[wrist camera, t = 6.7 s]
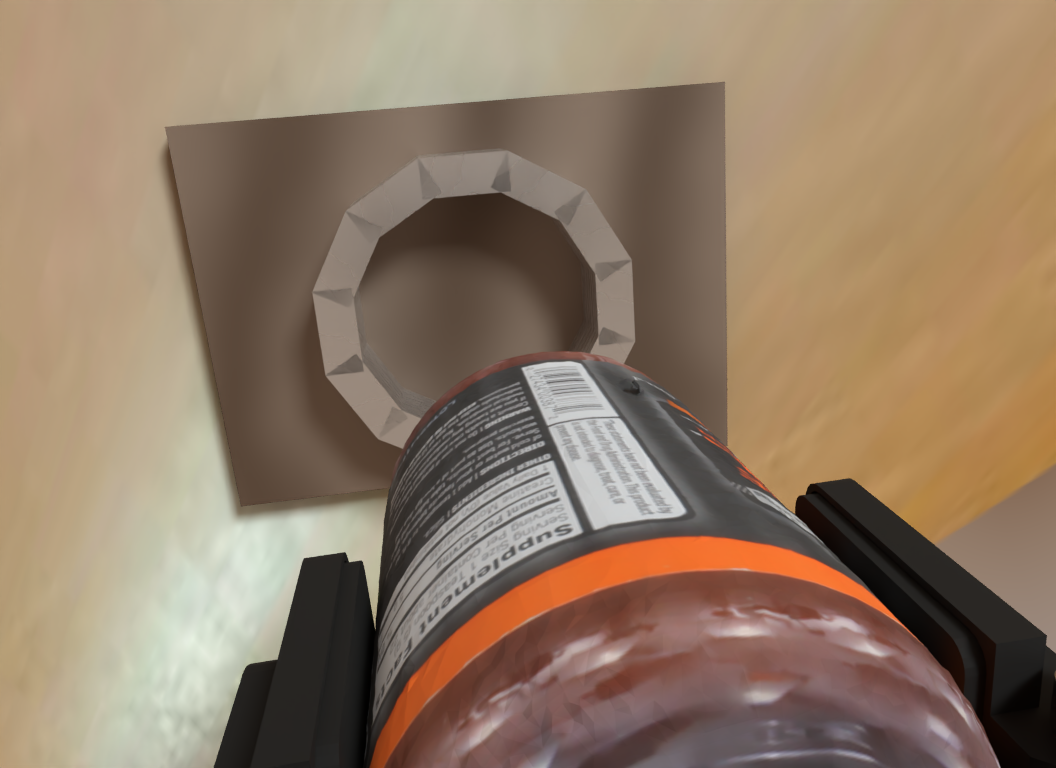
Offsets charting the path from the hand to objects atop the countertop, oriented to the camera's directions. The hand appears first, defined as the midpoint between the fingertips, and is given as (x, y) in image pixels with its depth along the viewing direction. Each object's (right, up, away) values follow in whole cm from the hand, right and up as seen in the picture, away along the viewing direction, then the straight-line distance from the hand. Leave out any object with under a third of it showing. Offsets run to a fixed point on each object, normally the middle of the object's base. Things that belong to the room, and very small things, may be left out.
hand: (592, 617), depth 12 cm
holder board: (-3, +6, +18) cm, 20 cm away
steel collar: (-3, +6, +18) cm, 20 cm away
